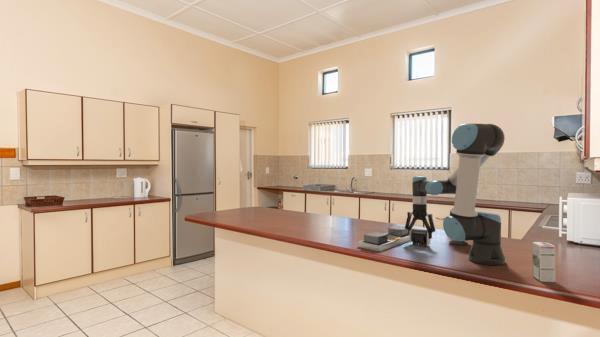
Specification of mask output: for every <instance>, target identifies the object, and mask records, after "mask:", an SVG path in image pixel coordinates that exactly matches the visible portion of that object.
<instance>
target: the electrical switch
mask: <svg viewBox="0 0 600 337" xmlns="http://www.w3.org/2000/svg"><path fill="white" fill-rule="evenodd" d="M411 232H412V242H411V243H412V246H419V247H420V246H422V247H427V246H428V245H427V233H428V231H427V229H422V228H412V229H411Z"/></svg>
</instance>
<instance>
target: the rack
mask: <svg viewBox="0 0 600 337" xmlns="http://www.w3.org/2000/svg"><path fill="white" fill-rule="evenodd" d="M407 242H410V236H409V235H408V229H405V226H401V225H394V226H389V227H387V232H385V233H383V232H377V231H372V232H369V233H365V234H363V239H362V240H359V241H358V242H357V247H358V248H361V249H365V250H370V251H375V252H383V251H386V250H388V249H392V248H395V247H397V246H399V245H402V244H405V243H407Z"/></svg>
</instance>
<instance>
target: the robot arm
mask: <svg viewBox="0 0 600 337" xmlns="http://www.w3.org/2000/svg"><path fill="white" fill-rule="evenodd" d="M451 144H452V146H453V148H454V149H456V151H455V153H456V154H457V155H458V157H459V159H458V167H457V168H456V170H454V172H452V174H451V175H450V176H449V177H448V178H447V179H444V180H443V179H439V180H433V179H432V180H430V179H429V180H427V176H423V175H418V176H417V175H416V176H413V177H412V183H411V184H412V186H411V187H412V211H407V217H406V221H405V225H404V227H405V229H408V235H409V236H410V241H409V242H410V243H412V232H411V229H413V227H414V225H415V223H416V222H417V221H422V223H423V225H424V226H425V228H426V229H425V230H427V231H428V233H427V246H430V245H431V239H432V238H433V233H435V232H436V227H435V224H434V219H433V213H427V210H428V207H427V206H428V204H427V200H428V199H427V195H431V196H438V195H455V197H454V204H453V207H452V208H451V209H450V210H449V215H450V216H449V215H447V216H445V217H444V219H443V222H442V227H443V231H444V233H445V235H446V236H447V238H448V239H450V241H452V240H453V241H465V242H468V241H472V245H471V247H470V249H469V252H468V261H469V260H470V261H471V262H473V263H476V264H479V265H480V264H482V265H487V266H502V265H505V264H506V257H505V254H504V252H503V249H502V246H501V245H502V220H501V219H502V218H501V215H499V214H497V213H492V212H487V211H486V212H485V211H477V210H476V202H477V200H476V199H477V194H478V186H479V185H478V184H479V175H480V168H481V166H482V165H483V164H485V163H486V162H487V160H489V159H490V158H491V157H494V156H495V155H497V153H499V151H500V150H501V149H502V147H503V146H504V144H505V133H504V131H503V130H502V128H501V127H500V126H498V125H496V124H493V123H473V122H470V123H463V124H460V125H458V126H457V128H455V130H454V131H453V133H452V135H451Z"/></svg>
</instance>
